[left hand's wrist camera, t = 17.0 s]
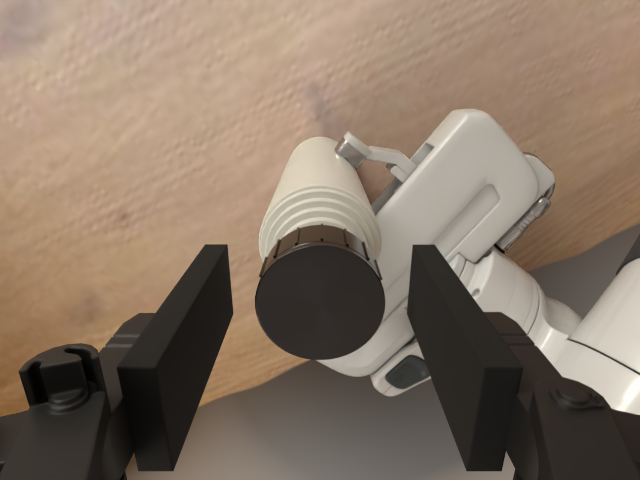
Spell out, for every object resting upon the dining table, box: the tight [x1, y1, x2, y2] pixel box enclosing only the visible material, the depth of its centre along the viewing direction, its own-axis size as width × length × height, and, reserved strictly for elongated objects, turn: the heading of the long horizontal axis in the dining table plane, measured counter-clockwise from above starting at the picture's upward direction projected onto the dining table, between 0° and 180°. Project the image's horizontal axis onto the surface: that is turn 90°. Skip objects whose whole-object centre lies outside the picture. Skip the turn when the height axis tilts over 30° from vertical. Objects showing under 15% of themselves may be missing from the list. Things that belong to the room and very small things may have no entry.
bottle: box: [259, 137, 382, 263], centre depth 23 cm, size 5×5×22 cm
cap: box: [255, 224, 385, 360], centre depth 14 cm, size 4×4×2 cm
